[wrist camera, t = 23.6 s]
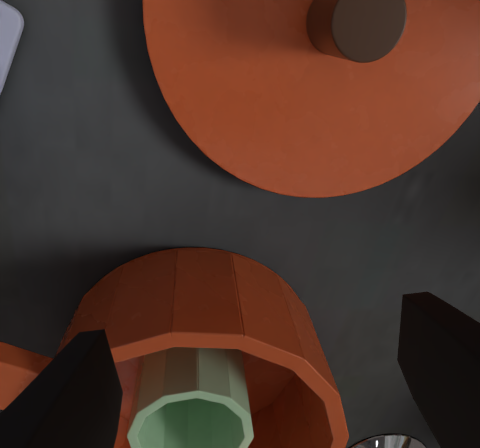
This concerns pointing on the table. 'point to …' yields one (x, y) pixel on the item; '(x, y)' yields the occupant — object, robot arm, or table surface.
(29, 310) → the table surface
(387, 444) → the wine glass
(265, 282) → the pan
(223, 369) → the container
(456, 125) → the pan lid
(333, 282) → the table surface
